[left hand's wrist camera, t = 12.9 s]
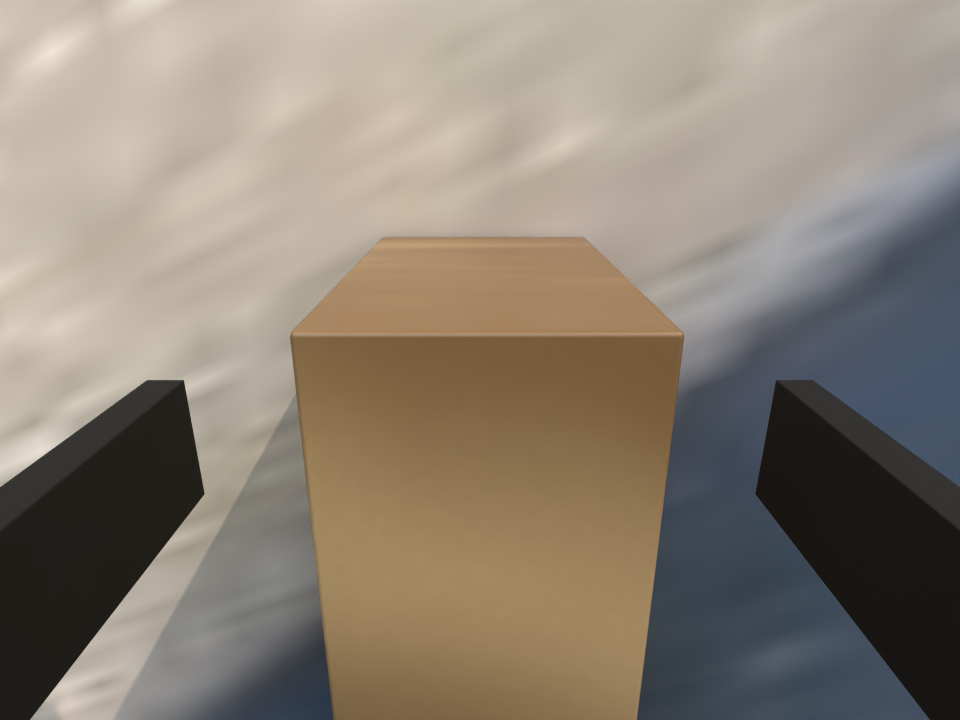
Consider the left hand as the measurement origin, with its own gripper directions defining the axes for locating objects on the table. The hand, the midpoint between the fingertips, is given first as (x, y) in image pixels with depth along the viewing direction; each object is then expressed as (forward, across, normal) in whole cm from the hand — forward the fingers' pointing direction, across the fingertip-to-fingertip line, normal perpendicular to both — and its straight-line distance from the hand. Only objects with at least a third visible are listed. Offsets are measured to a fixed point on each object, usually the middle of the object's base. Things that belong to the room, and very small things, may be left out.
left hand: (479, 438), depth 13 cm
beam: (+4, 0, -35) cm, 35 cm away
